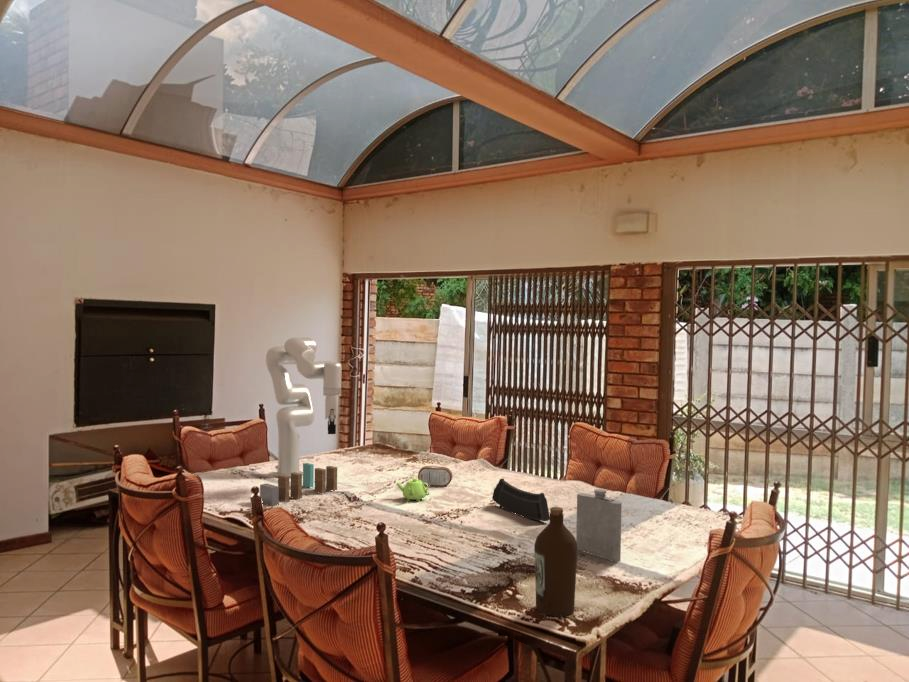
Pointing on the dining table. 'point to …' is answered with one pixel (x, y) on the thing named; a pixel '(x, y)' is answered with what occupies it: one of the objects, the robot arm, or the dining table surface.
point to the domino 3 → (308, 474)
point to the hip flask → (599, 525)
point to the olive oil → (555, 567)
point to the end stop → (269, 494)
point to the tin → (435, 475)
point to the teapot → (414, 489)
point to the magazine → (521, 501)
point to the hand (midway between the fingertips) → (331, 432)
